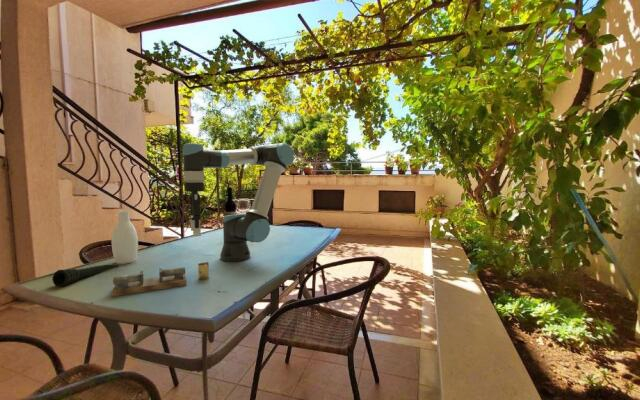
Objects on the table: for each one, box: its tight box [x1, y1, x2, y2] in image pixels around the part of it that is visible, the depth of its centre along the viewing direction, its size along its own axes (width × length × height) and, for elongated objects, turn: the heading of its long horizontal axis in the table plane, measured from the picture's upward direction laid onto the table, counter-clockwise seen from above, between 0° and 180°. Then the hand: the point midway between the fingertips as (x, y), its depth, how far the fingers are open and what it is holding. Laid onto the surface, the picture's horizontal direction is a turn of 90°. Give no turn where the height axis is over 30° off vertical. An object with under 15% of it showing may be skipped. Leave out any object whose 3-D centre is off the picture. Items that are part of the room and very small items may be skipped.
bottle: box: [110, 209, 139, 265], centre depth 148 cm, size 11×11×25 cm
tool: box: [51, 264, 119, 288], centre depth 128 cm, size 28×6×7 cm, turn 168°
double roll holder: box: [111, 266, 188, 297], centre depth 115 cm, size 24×9×6 cm, turn 118°
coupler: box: [197, 261, 210, 281], centre depth 125 cm, size 4×4×7 cm
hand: (195, 233), depth 124 cm, fingers open, 13 cm apart
